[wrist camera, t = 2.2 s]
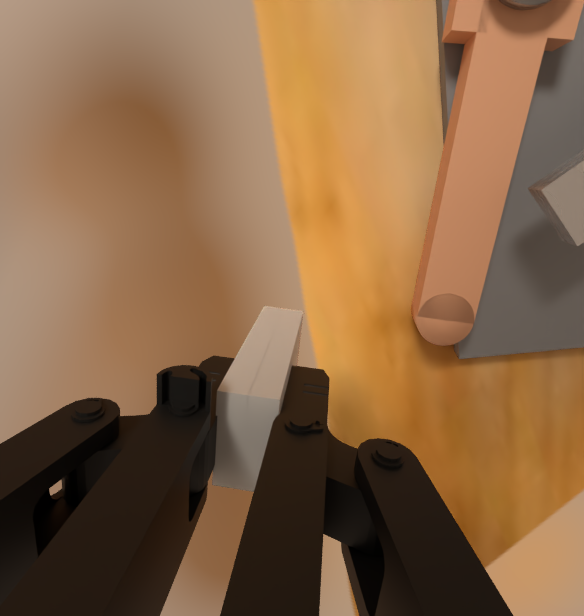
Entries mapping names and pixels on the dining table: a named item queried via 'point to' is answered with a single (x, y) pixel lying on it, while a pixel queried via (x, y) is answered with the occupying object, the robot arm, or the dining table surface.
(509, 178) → the link
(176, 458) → the robot arm
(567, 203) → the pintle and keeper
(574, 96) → the board
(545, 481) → the dining table surface
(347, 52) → the dining table surface
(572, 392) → the dining table surface
